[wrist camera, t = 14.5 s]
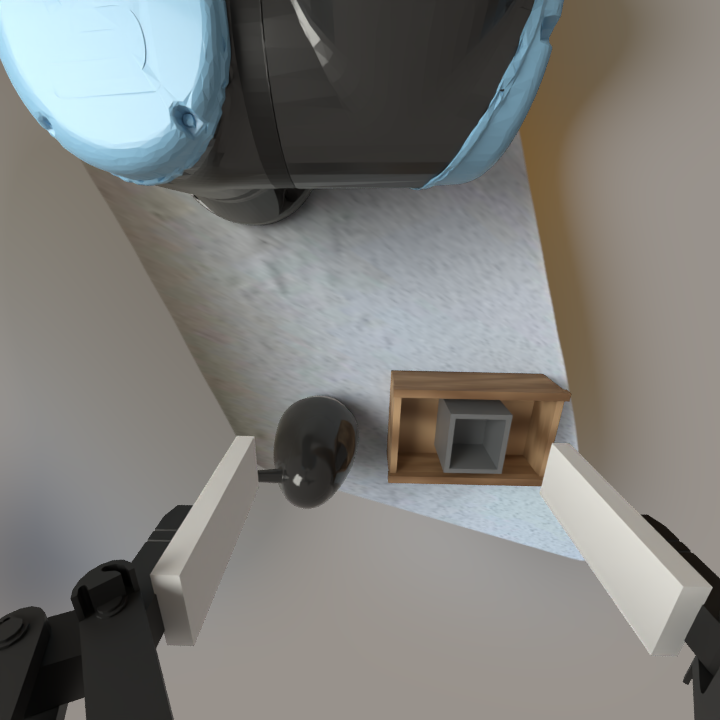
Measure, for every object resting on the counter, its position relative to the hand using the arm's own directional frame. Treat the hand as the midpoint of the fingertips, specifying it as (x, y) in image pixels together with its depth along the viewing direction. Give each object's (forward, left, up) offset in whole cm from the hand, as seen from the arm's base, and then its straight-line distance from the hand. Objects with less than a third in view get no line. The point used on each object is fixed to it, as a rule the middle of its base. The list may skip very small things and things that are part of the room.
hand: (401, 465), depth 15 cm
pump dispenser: (+14, -7, -29) cm, 33 cm away
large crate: (+13, +12, -29) cm, 34 cm away
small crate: (+13, +12, -28) cm, 33 cm away
